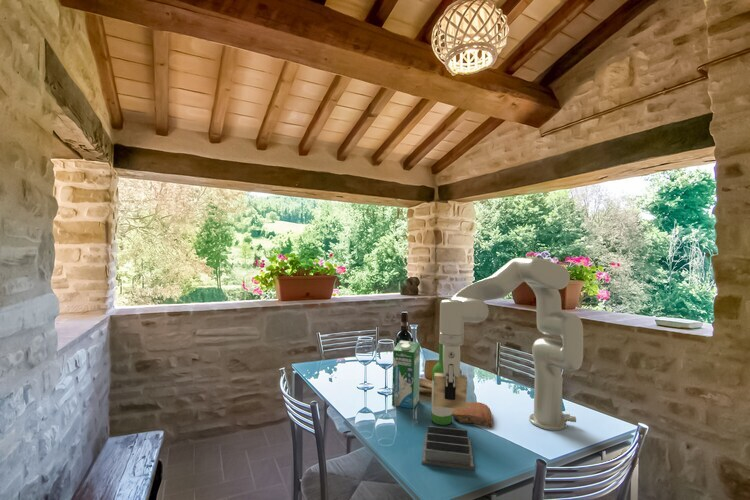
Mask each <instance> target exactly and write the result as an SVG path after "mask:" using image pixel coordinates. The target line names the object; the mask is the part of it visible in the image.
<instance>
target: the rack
mask: <svg viewBox="0 0 750 500" xmlns="http://www.w3.org/2000/svg"><path fill="white" fill-rule="evenodd" d="M423 439H424V440H423V448H422V449H423V450H422V455H421V464H422V465H428V466H436V467H437V466H439V467H446V468H452V469H454V468H455V469H462V470H470V471H474V470H475V464H474V463H475V462H474V456H473V449H472V442H471V438H469V436H468V429H461V428H453V427H442V426H433V425H428V426H427V432H426V433H424V438H423Z"/></svg>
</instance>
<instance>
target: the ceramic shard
mask: <svg viewBox="0 0 750 500" xmlns="http://www.w3.org/2000/svg"><path fill="white" fill-rule="evenodd" d="M452 418H453V419H455V420H456V421H458V422H459V423H461V422H462V423H461V424H463V423H464V424H465V423H466V424H469V423H471V424H473V423H474V424H476V425H479V426H480V425H481V426H485V427H488V428H492V426H493V415H492V410H491V409H490V407H489V406H488V405H487V404H485V403H482V402H478V401H475V402H472V401H471V402H470V401H469V402H467V401H466V409H457V408H453V413H452Z"/></svg>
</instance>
